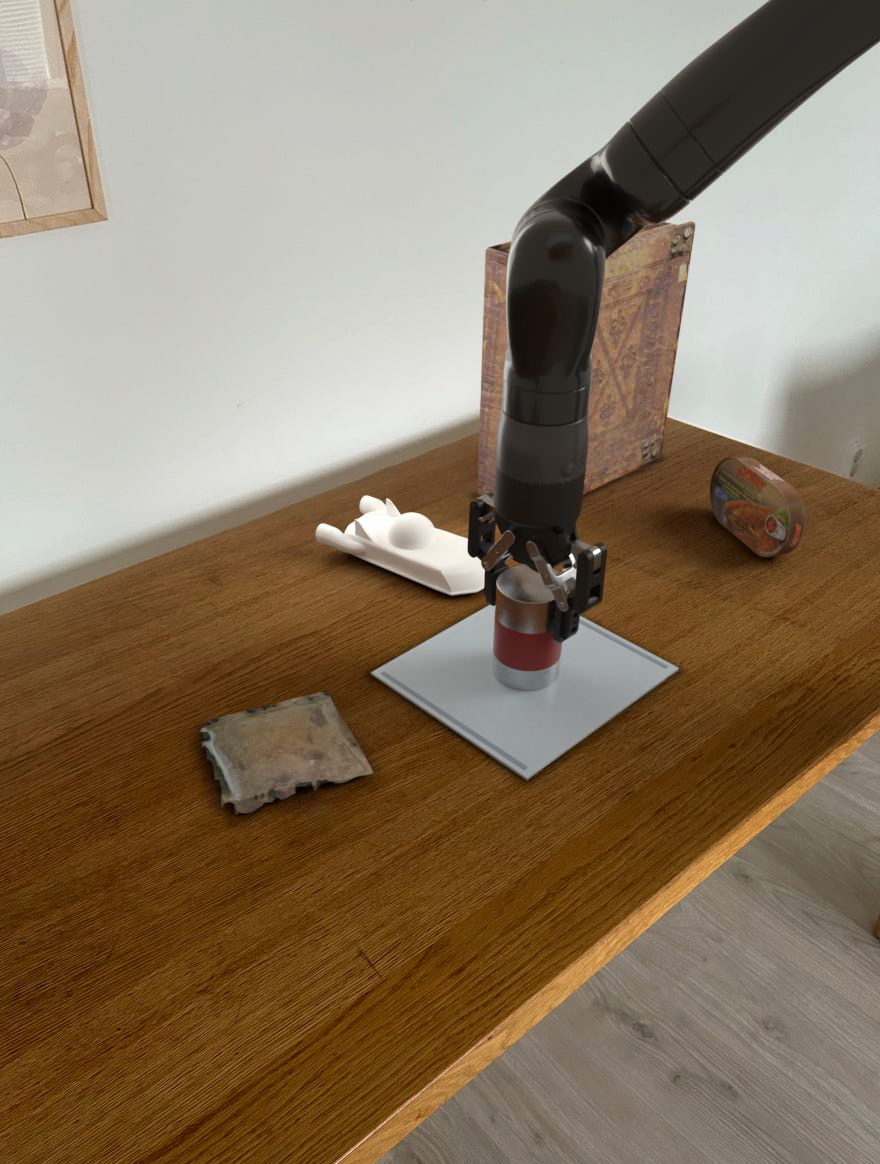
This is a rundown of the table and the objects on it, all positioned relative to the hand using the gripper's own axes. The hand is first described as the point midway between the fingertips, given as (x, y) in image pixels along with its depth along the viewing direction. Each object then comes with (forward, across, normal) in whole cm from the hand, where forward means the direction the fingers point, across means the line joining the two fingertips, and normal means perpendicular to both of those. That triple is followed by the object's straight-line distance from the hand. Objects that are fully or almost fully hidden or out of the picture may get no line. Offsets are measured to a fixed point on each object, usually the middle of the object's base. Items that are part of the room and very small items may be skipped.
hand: (528, 619), depth 94 cm
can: (+6, 0, 0) cm, 6 cm away
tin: (+6, -1, -38) cm, 39 cm away
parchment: (+6, +7, +24) cm, 26 cm away
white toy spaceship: (+6, +22, -6) cm, 24 cm away
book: (+6, +23, -35) cm, 42 cm away
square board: (+6, 0, 0) cm, 6 cm away
